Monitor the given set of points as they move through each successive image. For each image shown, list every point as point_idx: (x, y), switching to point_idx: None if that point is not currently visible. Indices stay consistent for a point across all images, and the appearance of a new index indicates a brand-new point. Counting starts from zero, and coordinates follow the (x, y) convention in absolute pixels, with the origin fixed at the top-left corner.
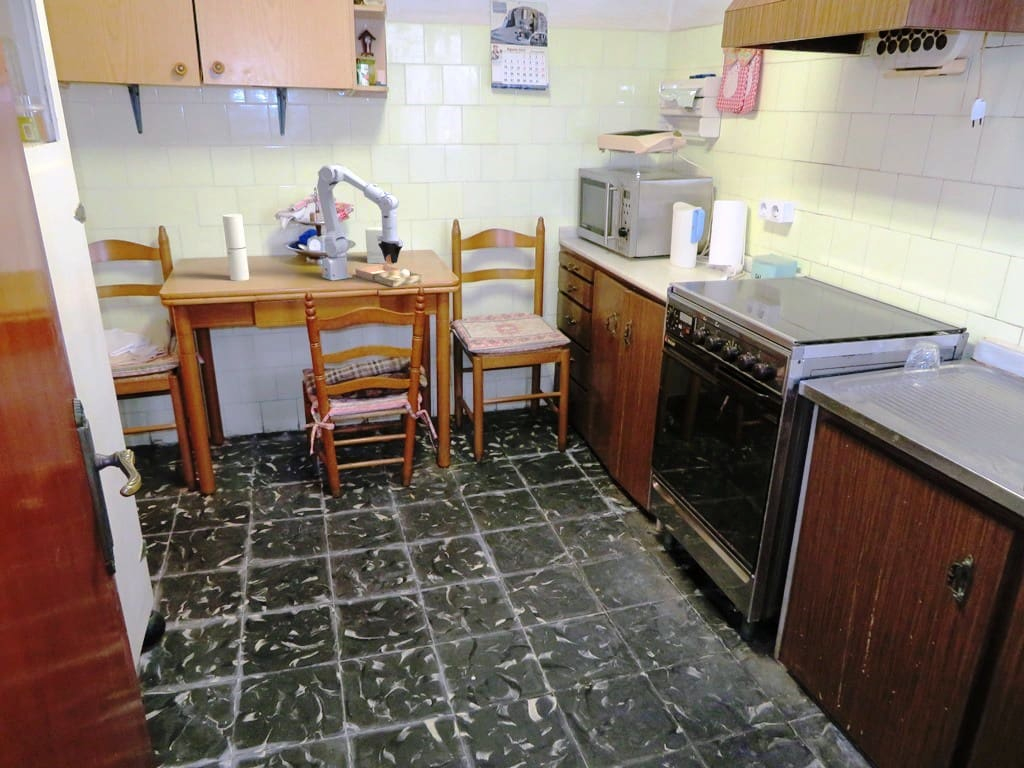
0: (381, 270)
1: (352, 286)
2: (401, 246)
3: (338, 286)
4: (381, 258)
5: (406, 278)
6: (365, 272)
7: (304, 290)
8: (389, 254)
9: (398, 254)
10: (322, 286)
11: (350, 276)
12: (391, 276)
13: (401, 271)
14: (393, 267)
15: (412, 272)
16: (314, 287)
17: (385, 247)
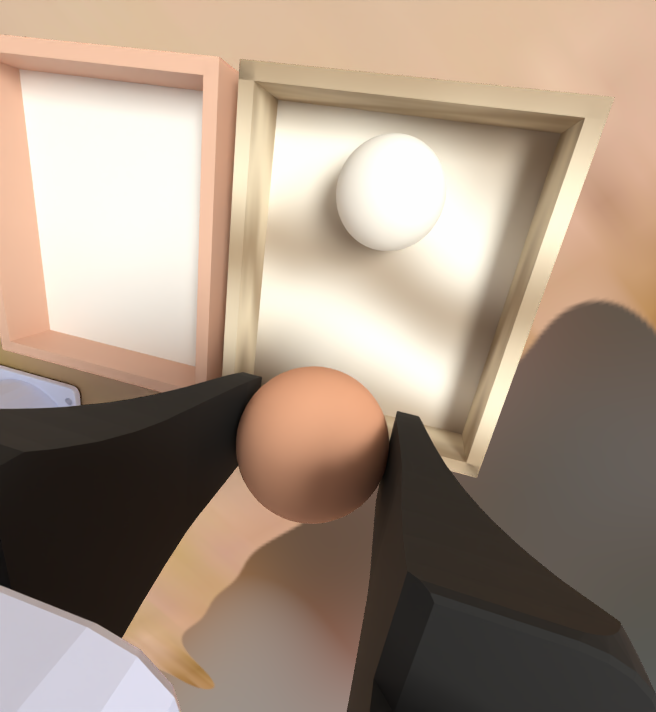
0: (21, 100)
1: (246, 537)
2: (636, 695)
3: (197, 565)
4: None
5: (527, 328)
6: (118, 378)
7: (161, 665)
8: (274, 496)
9: (457, 490)
10: (149, 592)
11: (72, 401)
12: (261, 240)
13: (371, 235)
14: (107, 65)
15: (430, 86)
16: (143, 617)
17: (120, 578)
